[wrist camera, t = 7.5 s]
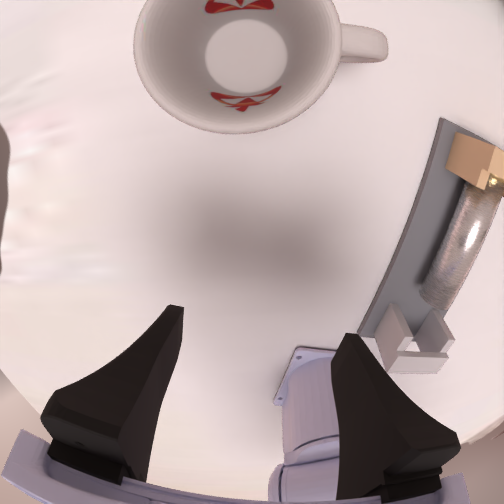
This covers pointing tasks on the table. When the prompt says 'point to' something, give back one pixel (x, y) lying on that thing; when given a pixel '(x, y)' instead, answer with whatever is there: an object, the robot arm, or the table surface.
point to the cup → (245, 58)
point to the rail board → (427, 254)
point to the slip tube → (461, 242)
